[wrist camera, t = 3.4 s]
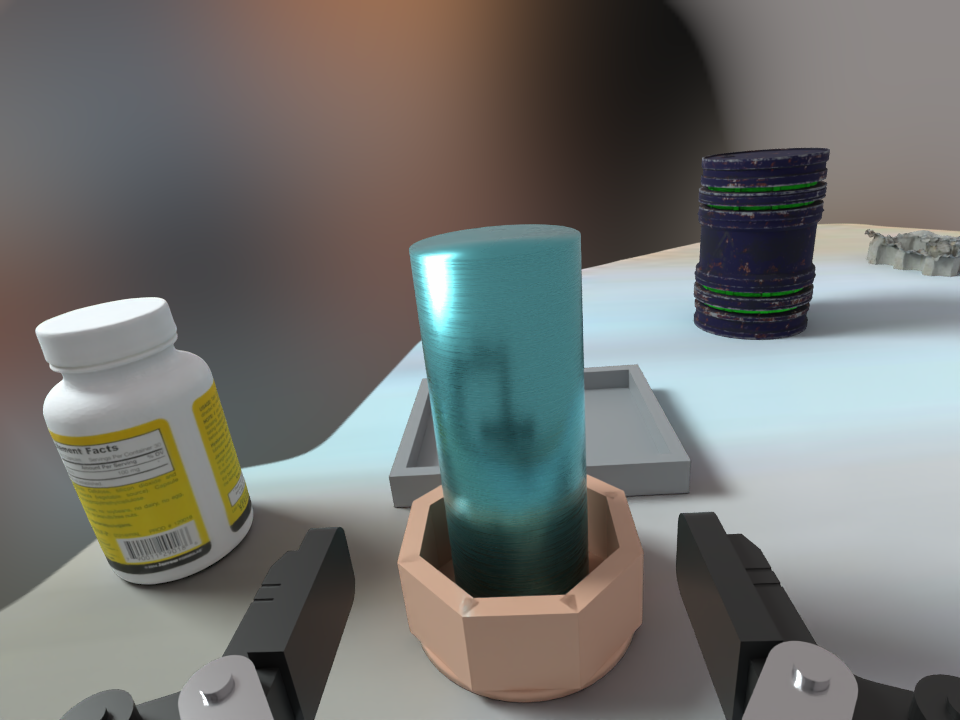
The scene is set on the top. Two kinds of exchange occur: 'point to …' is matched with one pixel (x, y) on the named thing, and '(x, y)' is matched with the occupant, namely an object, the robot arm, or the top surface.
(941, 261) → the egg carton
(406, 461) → the tray
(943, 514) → the top surface
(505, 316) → the bottle
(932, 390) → the top surface
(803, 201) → the dark blue barrel
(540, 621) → the peach octagonal bowl
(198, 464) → the supplement bottle
